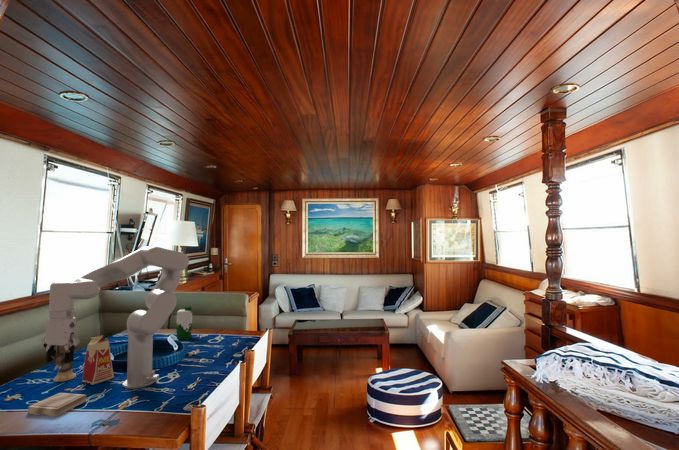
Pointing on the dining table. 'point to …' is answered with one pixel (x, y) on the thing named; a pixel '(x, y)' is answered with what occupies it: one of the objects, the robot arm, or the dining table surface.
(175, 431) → the dining table surface
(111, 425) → the dining table surface
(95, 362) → the milk carton
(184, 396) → the dining table surface
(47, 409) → the tan wooden tray
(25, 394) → the dining table surface
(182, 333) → the soya milk
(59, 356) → the brown bird figurine
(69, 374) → the hand bell
